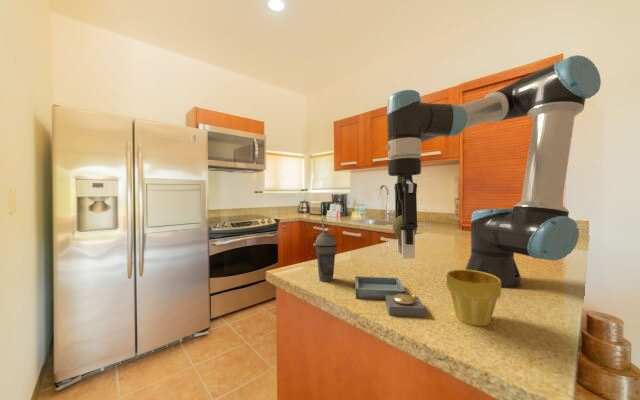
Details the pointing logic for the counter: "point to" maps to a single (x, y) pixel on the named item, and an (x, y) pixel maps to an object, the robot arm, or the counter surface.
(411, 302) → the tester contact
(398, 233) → the light bulb
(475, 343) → the counter surface
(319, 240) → the beverage cup
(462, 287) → the plant pot
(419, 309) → the tester
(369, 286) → the tray
